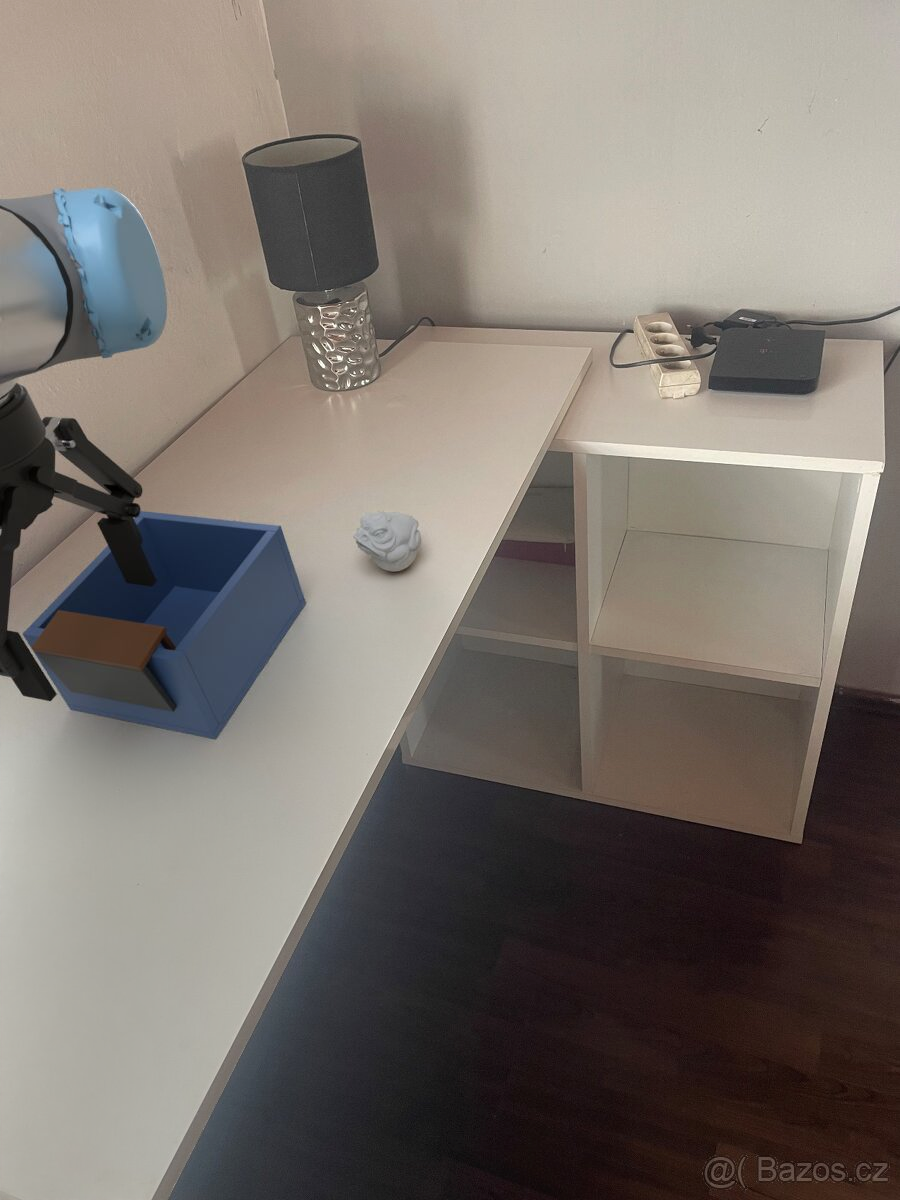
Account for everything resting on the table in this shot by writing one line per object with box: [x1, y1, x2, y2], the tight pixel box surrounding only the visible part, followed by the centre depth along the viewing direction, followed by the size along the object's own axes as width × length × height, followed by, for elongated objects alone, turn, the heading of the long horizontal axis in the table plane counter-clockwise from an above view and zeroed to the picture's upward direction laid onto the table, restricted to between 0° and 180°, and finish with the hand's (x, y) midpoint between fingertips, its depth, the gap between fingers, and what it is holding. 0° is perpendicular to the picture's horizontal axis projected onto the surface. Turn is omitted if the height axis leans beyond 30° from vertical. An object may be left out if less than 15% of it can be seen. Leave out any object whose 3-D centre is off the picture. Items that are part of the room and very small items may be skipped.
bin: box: [22, 510, 307, 740], centre depth 81 cm, size 18×16×10 cm
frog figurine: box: [352, 510, 422, 572], centre depth 88 cm, size 6×7×7 cm
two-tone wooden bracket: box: [30, 610, 177, 712], centre depth 74 cm, size 4×11×7 cm, turn 71°
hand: (94, 635), depth 71 cm, fingers open, 13 cm apart
